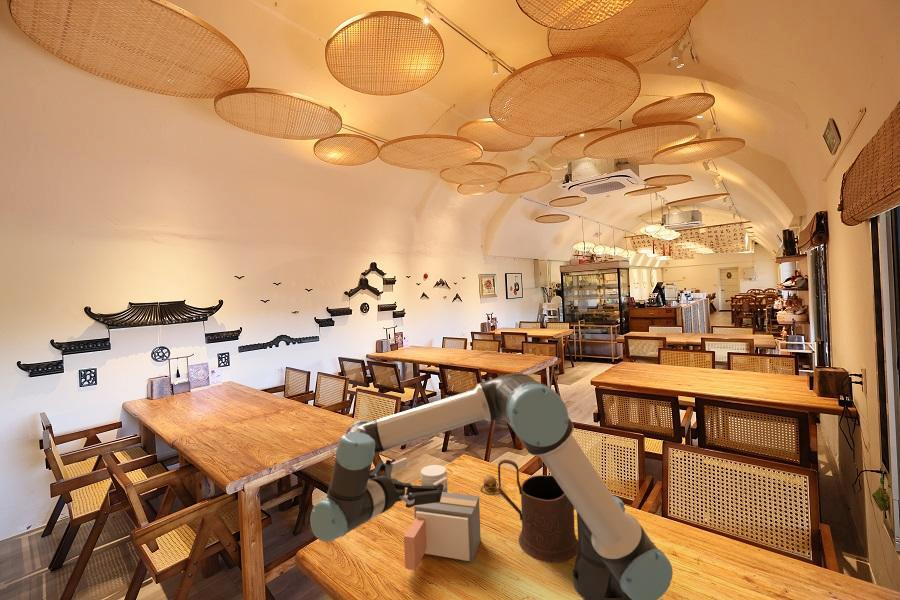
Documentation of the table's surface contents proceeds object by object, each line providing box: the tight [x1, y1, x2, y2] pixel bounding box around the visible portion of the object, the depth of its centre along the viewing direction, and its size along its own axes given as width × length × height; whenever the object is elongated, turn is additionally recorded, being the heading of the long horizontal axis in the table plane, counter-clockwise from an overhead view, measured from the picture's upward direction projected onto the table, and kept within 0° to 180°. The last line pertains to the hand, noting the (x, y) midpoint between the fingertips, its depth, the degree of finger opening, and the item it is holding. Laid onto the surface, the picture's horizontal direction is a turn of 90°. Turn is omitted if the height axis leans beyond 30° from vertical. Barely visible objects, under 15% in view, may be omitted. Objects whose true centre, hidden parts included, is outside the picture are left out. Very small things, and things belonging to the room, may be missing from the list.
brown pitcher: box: [497, 459, 579, 564], centre depth 117 cm, size 18×24×25 cm
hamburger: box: [482, 475, 499, 495], centre depth 150 cm, size 12×12×6 cm
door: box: [403, 511, 470, 571], centre depth 106 cm, size 16×10×12 cm, turn 73°
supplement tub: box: [420, 464, 449, 493], centre depth 136 cm, size 10×10×15 cm
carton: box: [413, 492, 482, 563], centre depth 116 cm, size 18×10×14 cm, turn 73°
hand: (424, 471), depth 103 cm, fingers open, 13 cm apart
